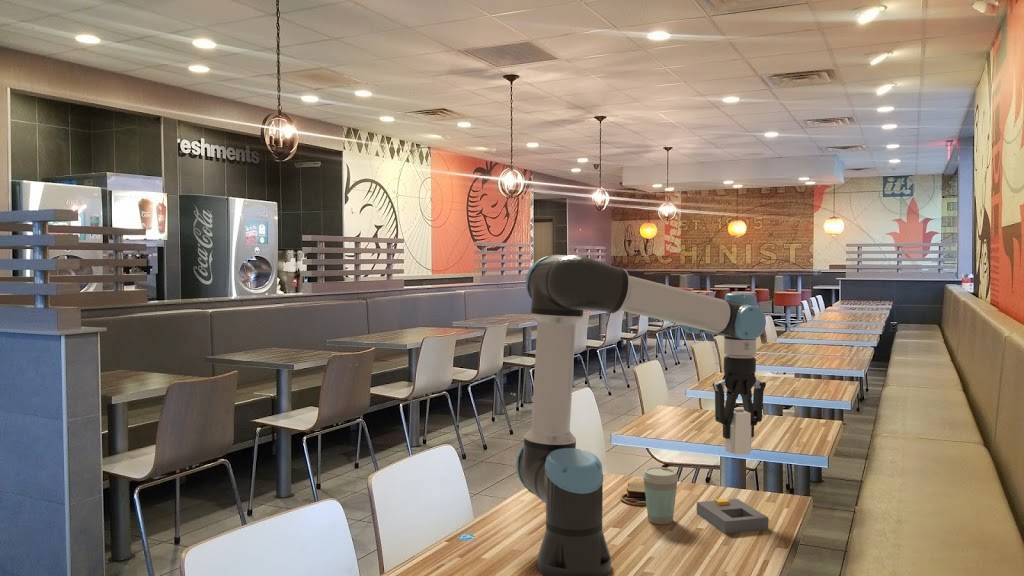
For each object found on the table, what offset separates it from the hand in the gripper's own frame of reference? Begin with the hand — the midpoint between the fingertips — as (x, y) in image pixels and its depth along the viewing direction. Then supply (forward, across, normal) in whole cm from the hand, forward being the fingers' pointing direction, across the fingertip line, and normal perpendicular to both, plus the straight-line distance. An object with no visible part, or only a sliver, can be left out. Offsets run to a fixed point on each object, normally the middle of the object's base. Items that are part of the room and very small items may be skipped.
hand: (738, 450), depth 182 cm
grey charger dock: (+16, -4, -4) cm, 17 cm away
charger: (0, 0, 0) cm, 0 cm away
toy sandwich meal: (+17, -19, +17) cm, 30 cm away
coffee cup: (+16, -20, +1) cm, 26 cm away
